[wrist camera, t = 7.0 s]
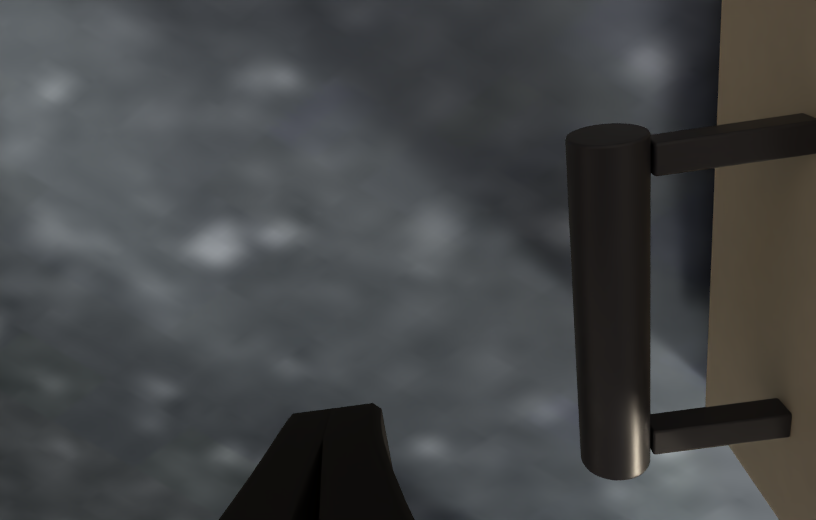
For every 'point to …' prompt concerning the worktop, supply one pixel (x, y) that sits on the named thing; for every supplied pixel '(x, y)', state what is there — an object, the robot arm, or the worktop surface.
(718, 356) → the drawer
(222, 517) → the robot arm
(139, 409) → the worktop surface
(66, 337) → the worktop surface
